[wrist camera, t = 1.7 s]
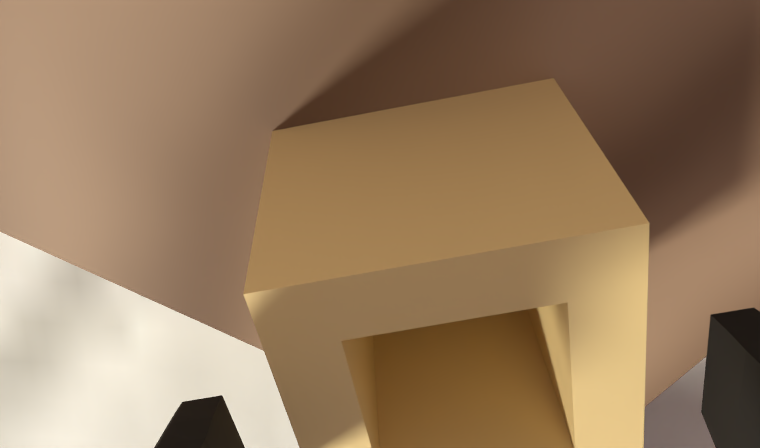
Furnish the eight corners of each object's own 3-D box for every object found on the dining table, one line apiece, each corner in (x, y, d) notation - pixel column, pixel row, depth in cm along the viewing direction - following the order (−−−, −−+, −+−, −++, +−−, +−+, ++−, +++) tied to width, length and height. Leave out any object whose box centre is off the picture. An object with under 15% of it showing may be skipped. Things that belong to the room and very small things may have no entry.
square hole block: (553, 78, 14) (649, 223, 9) (565, 298, 16) (642, 484, 12) (272, 131, 14) (243, 294, 10) (332, 338, 17) (331, 532, 13)
